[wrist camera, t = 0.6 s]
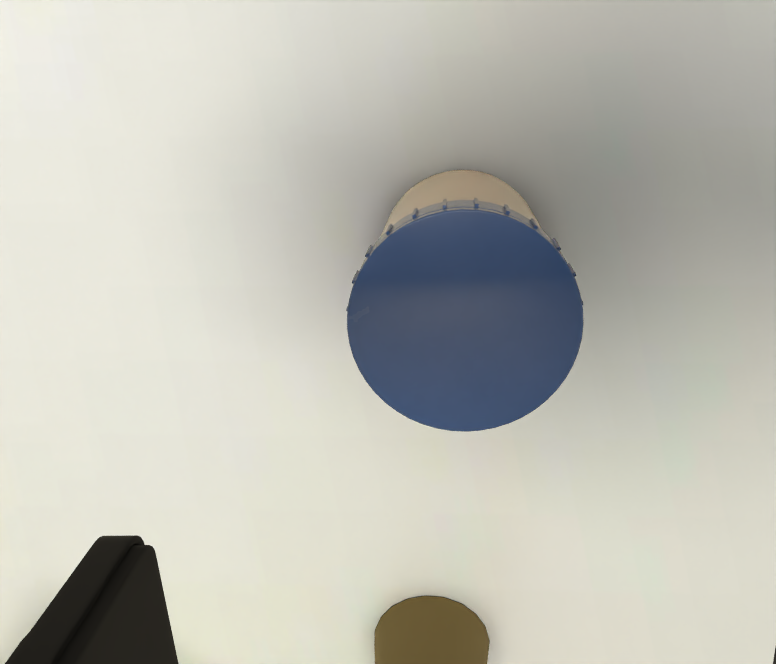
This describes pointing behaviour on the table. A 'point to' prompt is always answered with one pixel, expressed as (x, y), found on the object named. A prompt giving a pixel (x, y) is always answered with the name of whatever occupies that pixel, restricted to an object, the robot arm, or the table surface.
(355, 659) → the table surface
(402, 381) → the jar lid
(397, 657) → the olive game pawn
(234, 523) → the table surface
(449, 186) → the jam jar
